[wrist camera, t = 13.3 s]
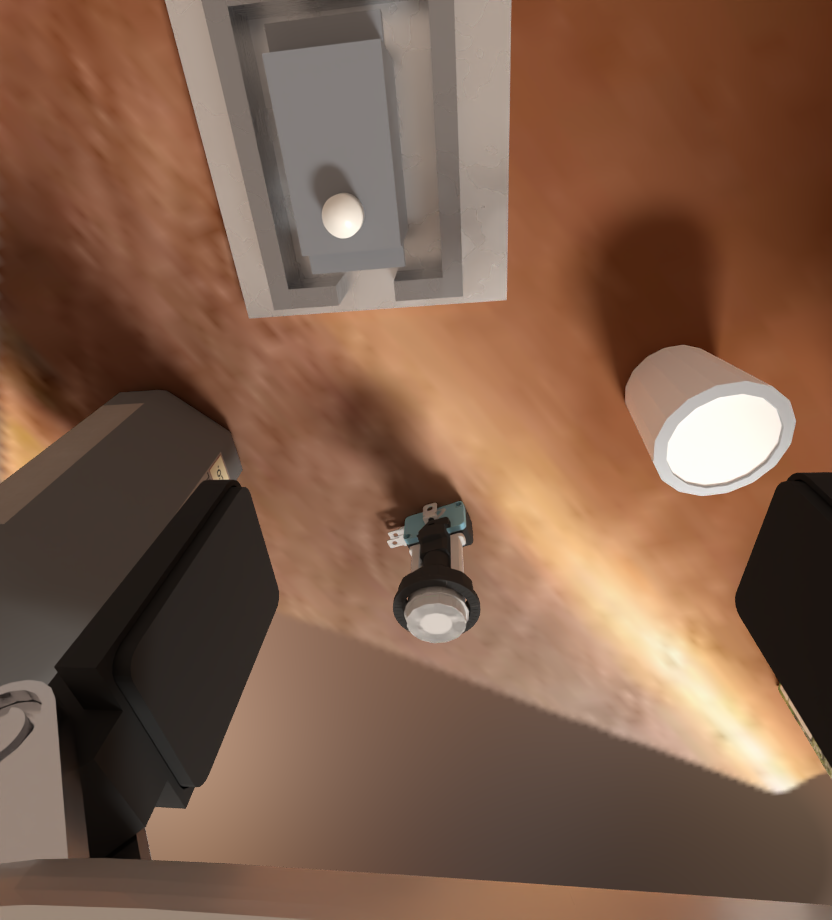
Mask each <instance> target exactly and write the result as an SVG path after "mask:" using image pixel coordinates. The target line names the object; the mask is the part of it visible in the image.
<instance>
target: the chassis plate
mask: <svg viewBox="0 0 832 920" xmlns="http://www.w3.org/2000/svg"><path fill="white" fill-rule="evenodd" d="M165 2H166V6H167V10H168V14H169V18H170V21H171V25H172V29H173V33H174V36H175V40H176V44H177V48H178V52H179V55H180V59H181V63H182V67H183V70H184V74H185V78H186V82H187V86H188V89H189V93H190V97H191V101H192V104H193V108H194V112H195V116H196V120H197V123H198V127H199V131H200V135H201V138H202V142H203V146H204V150H205V154H206V157H207V161H208V165H209V169H210V172H211V176H212V180H213V184H214V188H215V191H216V195H217V199H218V203H219V207H220V210H221V214H222V218H223V222H224V225H225V229H226V233H227V237H228V241H229V244H230V248H231V252H232V256H233V259H234V263H235V267H236V271H237V275H238V278H239V282H240V286H241V290H242V293H243V297H244V301H245V305H246V309H247V312H248V316H249V318H261V317H275V316H289V315H303V314H317V313H331V312H345V311H359V310H373V309H387V308H401V307H415V306H429V305H443V304H457V303H471V302H485V301H499V300H507V243H508V178H509V113H510V48H511V0H165ZM374 9H381V12H382V19H383V30H384V40H385V47H386V49H387V51H388V53H389V54H390V56H391V58H392V60H393V63H394V75H395V86H396V97H397V108H398V119H399V130H400V142H401V153H402V164H403V175H404V186H405V198H406V209H407V220H408V232H407V234H406V237H405V239H404V250H405V261H406V265H405V267H395V268H383V269H371V270H360V271H348V272H336V273H325V274H313V275H312V270H311V265H310V260H309V256H302V252H301V247H300V242H299V237H298V232H297V227H296V222H295V217H294V212H293V207H292V202H291V197H290V192H289V187H288V182H287V177H286V172H285V167H284V162H283V157H282V152H281V147H280V142H279V137H278V132H277V127H276V122H275V117H274V112H273V107H272V102H271V97H270V92H269V87H268V82H267V77H266V72H265V67H264V62H263V57H262V53H269V48H268V42H267V37H266V32H265V27H264V24H267V23H275V22H282V21H290V20H298V19H305V18H313V17H320V16H328V15H336V14H343V13H351V12H358V11H366V10H374Z"/></svg>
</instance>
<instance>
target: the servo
mask: <svg viewBox="0 0 832 920" xmlns="http://www.w3.org/2000/svg"><path fill="white" fill-rule="evenodd" d="M264 27H265V32H266V37H267V42H268V48H269V53H262V57H263V62H264V67H265V72H266V77H267V82H268V87H269V92H270V97H271V102H272V107H273V112H274V117H275V122H276V127H277V132H278V137H279V142H280V147H281V152H282V157H283V162H284V167H285V172H286V177H287V182H288V187H289V192H290V197H291V202H292V207H293V212H294V217H295V222H296V227H297V232H298V237H299V242H300V247H301V252H302V256H309V260H310V265H311V270H312V275H313V274H325V273H336V272H348V271H360V270H371V269H383V268H395V267H405V265H406V261H405V250H404V239H405V237H406V234H407V232H408V220H407V209H406V198H405V186H404V175H403V164H402V153H401V142H400V130H399V119H398V108H397V97H396V86H395V75H394V63H393V60H392V58H391V56H390V54H389V53H388V51H387V49H386V47H385V40H384V30H383V19H382V12H381V9H374V10H366V11H358V12H351V13H343V14H336V15H328V16H320V17H313V18H305V19H298V20H290V21H282V22H275V23H267V24H264Z"/></svg>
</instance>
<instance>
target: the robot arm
mask: <svg viewBox="0 0 832 920" xmlns="http://www.w3.org/2000/svg"><path fill="white" fill-rule="evenodd" d="M278 601H279V590H278V586H277V582H276V579H275V575H274V572H273V569H272V565H271V562H270V558H269V555H268V552H267V548H266V545H265V542H264V538H263V535H262V531H261V528H260V525H259V521H258V518H257V514H256V511H255V508H254V504H253V501H252V498H251V494H250V492H249V490H248V489H247V488H246V487H241V485H240V484H239V482H238V481H236V480H204V481H203V482H201V483H200V484H199V486H198V487H197V488H196V489H195V491H194V492H193V493H192V494H191V496H190V497H189V498H188V499H187V501H186V502H185V503H184V504H183V506H182V507H181V508H180V509H179V511H178V512H177V513H176V514H175V516H174V517H173V518H172V519H171V521H170V522H169V523H168V524H167V526H166V527H165V528H164V529H163V531H162V532H161V533H160V534H159V536H158V537H157V538H156V540H155V541H154V542H153V543H152V545H151V546H150V547H149V548H148V550H147V551H146V552H145V553H144V555H143V556H142V557H141V558H140V560H139V561H138V562H137V563H136V565H135V566H134V567H133V568H132V570H131V571H130V572H129V573H128V575H127V576H126V577H125V578H124V580H123V581H122V582H121V583H120V585H119V586H118V587H117V588H116V590H115V591H114V592H113V593H112V595H111V596H110V597H109V598H108V600H107V601H106V602H105V603H104V605H103V606H102V607H101V608H100V610H99V611H98V612H97V613H96V615H95V616H94V617H93V618H92V620H91V621H90V622H89V624H88V625H87V626H86V627H85V629H84V630H83V631H82V632H81V634H80V635H79V636H78V637H77V639H76V640H75V641H74V642H73V644H72V645H71V646H70V647H69V649H68V650H67V651H66V652H65V654H64V655H63V656H62V657H61V659H60V660H59V661H58V662H57V664H56V665H55V666H54V668H55V669H56V671H57V674H56V675H55V676H54V678H53V679H52V680H51V681H50V683H49V684H48V685H46V684H45V683H43V682H41V681H33V680H24V681H18V682H12V683H8V684H6V685H3V686H0V920H832V906H831V905H818V904H804V903H790V902H777V901H765V900H752V899H738V898H725V897H711V896H698V895H683V894H669V893H655V892H640V891H627V890H613V889H599V888H585V887H570V886H556V885H542V884H527V883H513V882H498V881H485V880H470V879H456V878H455V879H454V878H441V877H427V876H411V875H396V874H381V873H380V874H379V873H365V872H364V873H363V872H350V871H334V870H318V869H304V868H287V867H272V866H256V865H241V864H225V863H204V862H203V863H202V862H181V861H159V860H152V859H151V854H150V849H149V844H148V840H147V835H146V830H145V827H146V824H147V822H148V820H149V818H150V816H151V814H152V812H153V809H154V808H155V807H166V808H184V809H185V808H186V807H187V804H188V802H189V799H190V797H191V795H192V792H193V790H194V788H195V787H200V786H201V785H203V783H204V782H205V781H206V779H207V777H208V775H209V773H210V770H211V768H212V766H213V763H214V760H215V758H216V756H217V753H218V751H219V748H220V746H221V743H222V741H223V738H224V736H225V734H226V731H227V729H228V726H229V724H230V721H231V719H232V716H233V714H234V712H235V709H236V707H237V704H238V702H239V699H240V697H241V695H242V692H243V690H244V687H245V685H246V682H247V680H248V677H249V675H250V673H251V670H252V668H253V665H254V663H255V660H256V658H257V655H258V653H259V650H260V648H261V645H262V643H263V641H264V638H265V636H266V633H267V631H268V628H269V626H270V624H271V621H272V619H273V616H274V614H275V611H276V609H277V606H278ZM735 603H736V608H737V612H738V614H739V616H740V618H741V619H742V621H743V623H744V624H745V626H746V627H747V629H748V631H749V632H750V634H751V636H752V637H753V639H754V641H755V642H756V644H757V646H758V647H759V649H760V651H761V652H762V654H763V656H764V657H765V659H766V661H767V662H768V664H769V665H770V667H771V669H772V670H773V672H774V674H775V675H776V677H777V679H778V680H779V682H780V684H781V685H782V687H783V689H784V690H785V692H786V694H787V695H788V697H789V698H790V700H791V702H792V703H793V705H794V707H795V708H796V710H797V712H798V713H799V715H800V717H801V718H802V720H803V722H804V723H805V725H806V727H807V728H808V730H809V732H810V733H811V735H812V736H813V738H814V740H815V741H816V743H817V745H818V746H819V748H820V750H821V751H822V753H823V755H824V756H825V758H826V760H827V761H828V763H829V765H830V766H831V768H832V472H822V473H795V474H792V475H791V476H790V477H789V478H788V480H787V481H785V482H781V483H780V484H779V485H778V486H777V488H776V490H775V493H774V495H773V498H772V501H771V503H770V506H769V508H768V511H767V514H766V516H765V519H764V521H763V524H762V527H761V529H760V532H759V534H758V537H757V540H756V542H755V545H754V548H753V550H752V553H751V555H750V558H749V561H748V563H747V566H746V568H745V571H744V574H743V576H742V579H741V581H740V584H739V587H738V589H737V592H736V596H735Z"/></svg>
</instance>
